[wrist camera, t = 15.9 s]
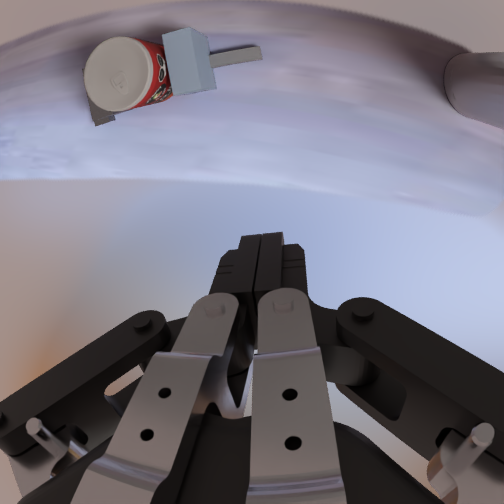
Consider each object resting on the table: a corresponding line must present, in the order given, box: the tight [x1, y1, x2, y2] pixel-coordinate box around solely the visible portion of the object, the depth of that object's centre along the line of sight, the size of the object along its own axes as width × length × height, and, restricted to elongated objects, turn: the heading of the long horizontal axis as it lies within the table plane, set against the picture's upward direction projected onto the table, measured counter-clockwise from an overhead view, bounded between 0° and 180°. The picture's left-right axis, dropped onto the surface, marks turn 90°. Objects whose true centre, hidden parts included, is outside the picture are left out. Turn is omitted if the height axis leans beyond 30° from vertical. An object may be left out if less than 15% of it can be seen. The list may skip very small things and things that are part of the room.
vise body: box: [82, 68, 132, 126], centre depth 33 cm, size 6×8×6 cm
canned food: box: [84, 37, 173, 111], centre depth 29 cm, size 8×8×11 cm
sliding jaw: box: [162, 27, 262, 96], centre depth 30 cm, size 9×7×8 cm
